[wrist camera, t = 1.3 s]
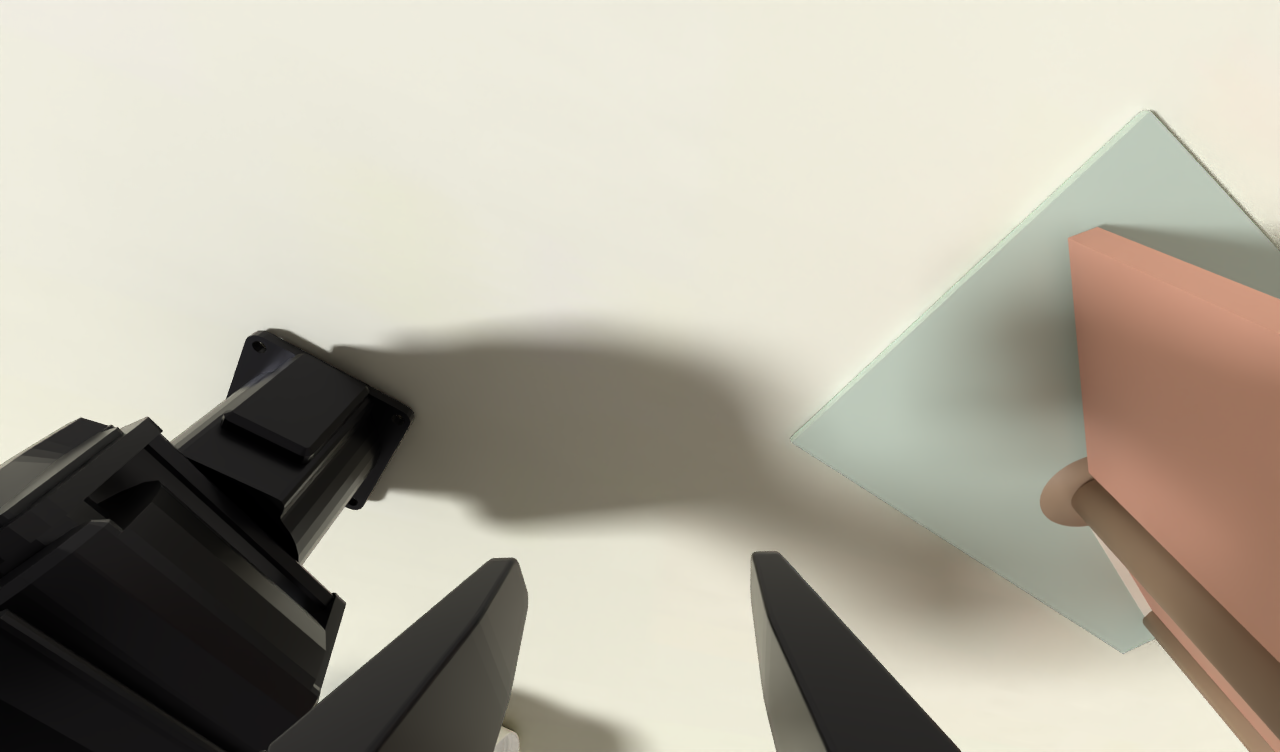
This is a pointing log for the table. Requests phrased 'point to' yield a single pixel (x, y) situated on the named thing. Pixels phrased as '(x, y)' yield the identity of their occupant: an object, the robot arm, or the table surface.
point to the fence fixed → (1167, 626)
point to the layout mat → (1029, 379)
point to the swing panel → (1185, 447)
